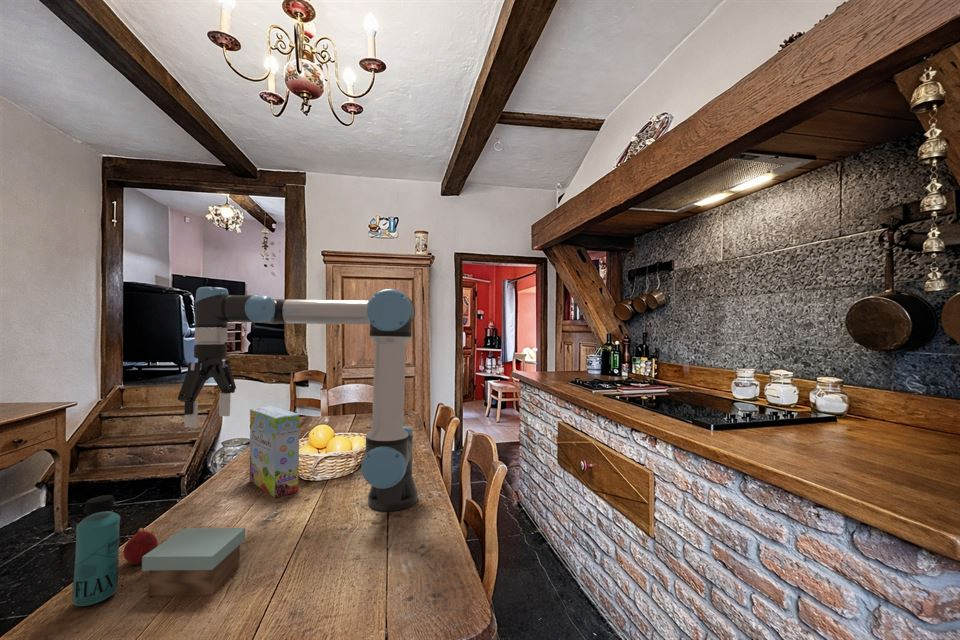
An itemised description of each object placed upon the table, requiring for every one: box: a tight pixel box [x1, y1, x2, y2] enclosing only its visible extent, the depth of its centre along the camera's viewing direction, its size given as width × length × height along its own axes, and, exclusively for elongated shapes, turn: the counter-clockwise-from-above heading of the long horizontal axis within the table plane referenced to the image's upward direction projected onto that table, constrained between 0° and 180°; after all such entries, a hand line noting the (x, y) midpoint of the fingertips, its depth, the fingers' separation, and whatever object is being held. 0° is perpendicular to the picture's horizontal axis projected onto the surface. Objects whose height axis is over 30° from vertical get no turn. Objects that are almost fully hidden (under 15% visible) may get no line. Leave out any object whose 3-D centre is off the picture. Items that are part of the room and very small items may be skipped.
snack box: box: [249, 405, 301, 499], centre depth 137 cm, size 22×9×26 cm, turn 49°
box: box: [147, 544, 241, 597], centre depth 84 cm, size 12×9×6 cm
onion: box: [123, 527, 159, 565], centre depth 90 cm, size 6×6×8 cm
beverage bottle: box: [71, 494, 121, 607], centre depth 77 cm, size 6×7×20 cm
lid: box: [141, 527, 246, 571], centre depth 84 cm, size 13×12×4 cm
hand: (208, 421), depth 110 cm, fingers open, 13 cm apart
